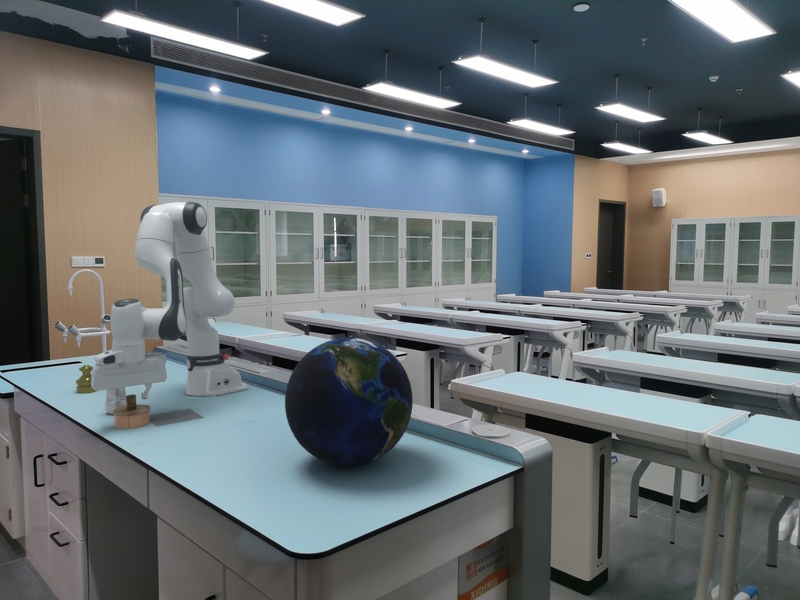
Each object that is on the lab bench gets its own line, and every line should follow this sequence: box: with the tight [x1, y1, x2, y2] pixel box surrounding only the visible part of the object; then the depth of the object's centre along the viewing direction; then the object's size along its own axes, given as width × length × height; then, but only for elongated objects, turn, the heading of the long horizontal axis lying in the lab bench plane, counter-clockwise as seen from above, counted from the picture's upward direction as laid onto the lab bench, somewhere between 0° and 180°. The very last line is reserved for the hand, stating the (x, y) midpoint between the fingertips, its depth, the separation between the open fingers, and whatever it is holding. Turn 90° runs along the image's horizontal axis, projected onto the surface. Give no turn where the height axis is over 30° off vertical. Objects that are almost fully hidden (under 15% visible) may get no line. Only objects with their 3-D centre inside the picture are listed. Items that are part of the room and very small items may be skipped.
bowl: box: [113, 411, 151, 430], centre depth 170 cm, size 9×9×4 cm
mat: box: [149, 408, 205, 427], centre depth 177 cm, size 14×14×1 cm
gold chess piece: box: [75, 364, 97, 394], centre depth 216 cm, size 7×7×10 cm
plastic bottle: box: [104, 387, 127, 416], centre depth 182 cm, size 6×7×20 cm
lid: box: [112, 393, 151, 416], centre depth 169 cm, size 10×10×5 cm
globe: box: [284, 336, 413, 467], centre depth 136 cm, size 30×30×30 cm
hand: (131, 400), depth 169 cm, fingers open, 6 cm apart
